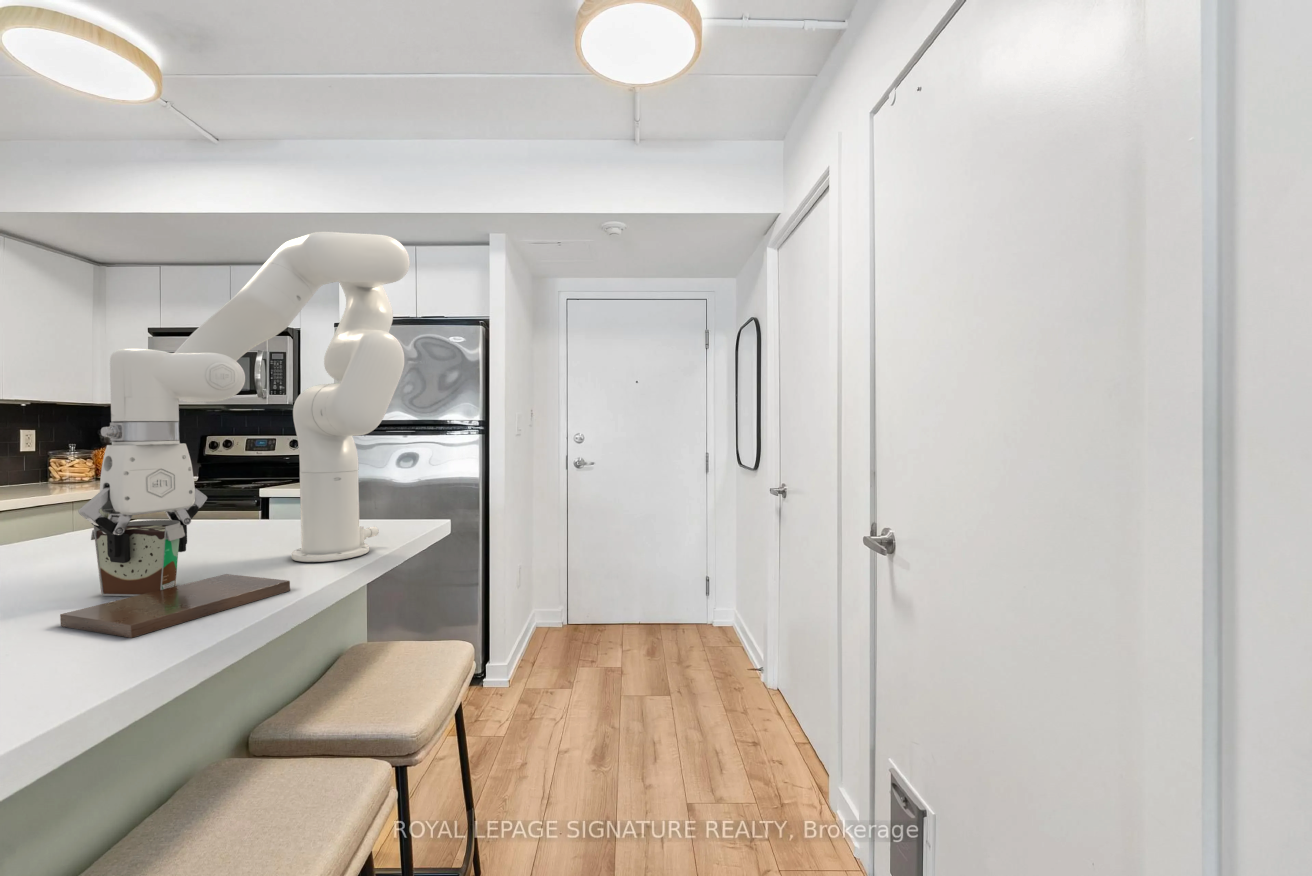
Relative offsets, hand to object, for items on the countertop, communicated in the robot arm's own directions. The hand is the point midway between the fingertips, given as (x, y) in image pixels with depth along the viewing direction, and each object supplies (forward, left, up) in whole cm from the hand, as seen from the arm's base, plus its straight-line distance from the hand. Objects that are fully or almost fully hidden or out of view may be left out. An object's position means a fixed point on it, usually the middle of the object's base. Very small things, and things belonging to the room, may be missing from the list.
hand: (149, 555), depth 87 cm
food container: (0, 0, -5) cm, 5 cm away
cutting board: (+4, +14, -5) cm, 15 cm away
